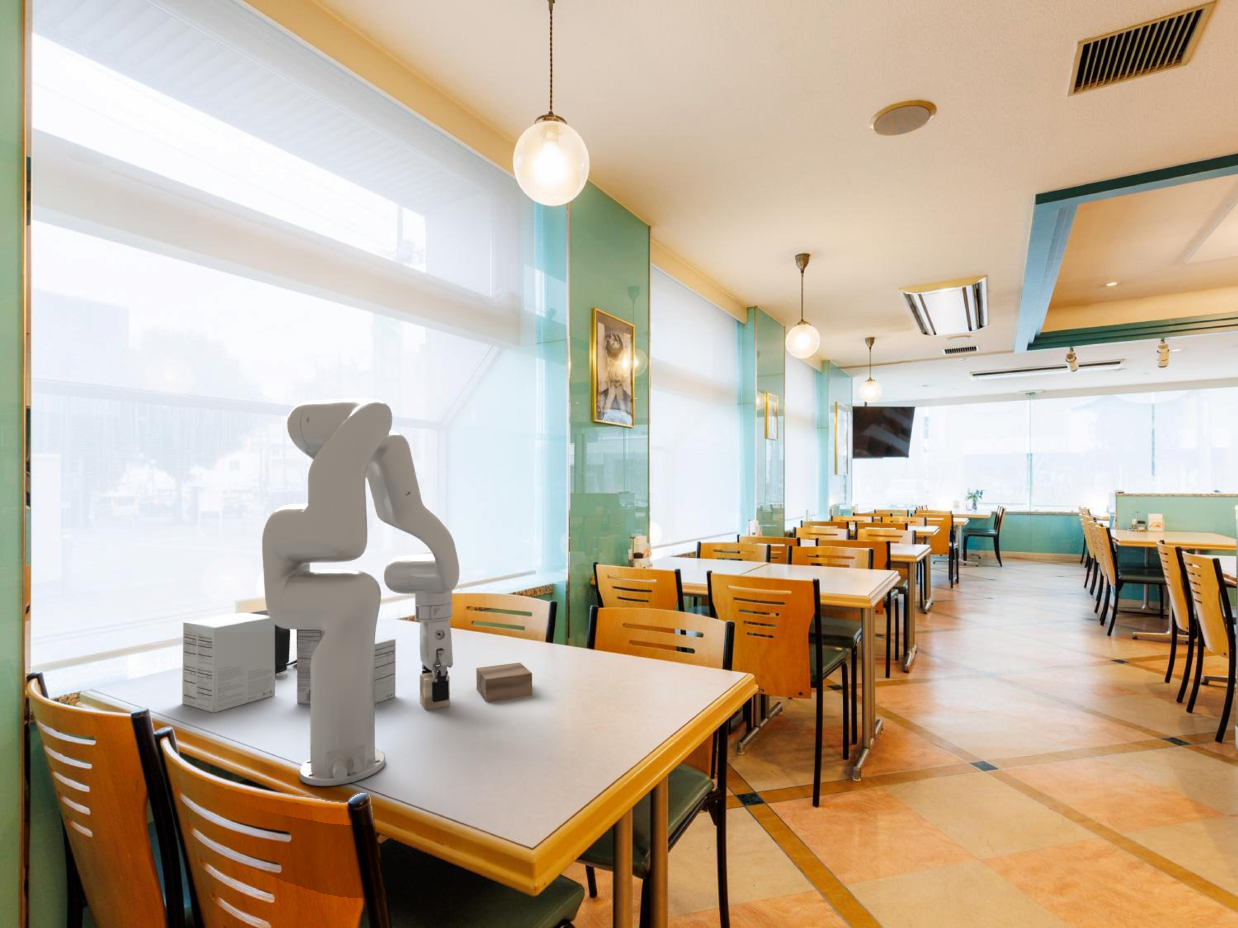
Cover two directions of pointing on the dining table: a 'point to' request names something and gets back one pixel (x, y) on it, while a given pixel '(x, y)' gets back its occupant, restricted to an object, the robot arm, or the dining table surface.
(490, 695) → the walnut block
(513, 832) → the dining table surface
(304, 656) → the coffee box
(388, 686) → the supplement box
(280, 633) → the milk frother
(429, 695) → the maple block
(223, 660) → the supplement box
